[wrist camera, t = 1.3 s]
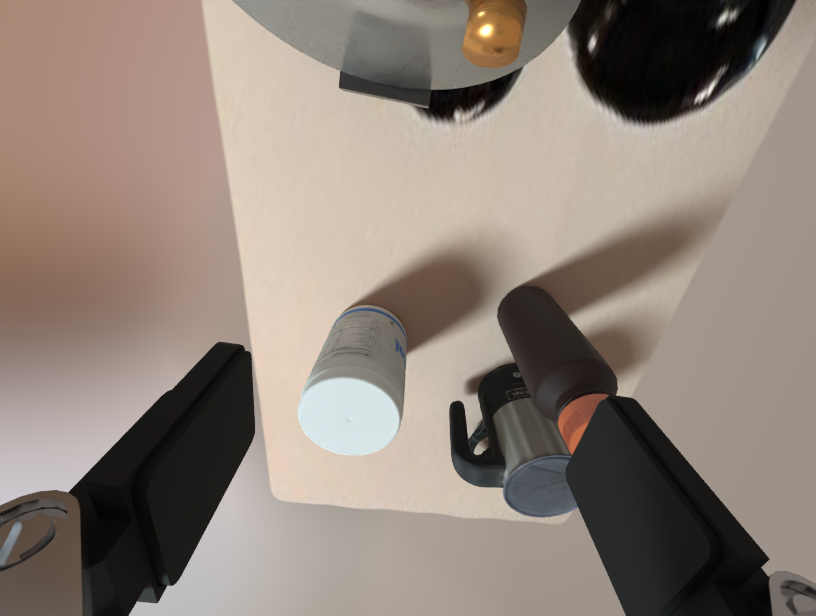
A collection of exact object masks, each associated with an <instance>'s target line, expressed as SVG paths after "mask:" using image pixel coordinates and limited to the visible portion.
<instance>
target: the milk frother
mask: <svg viewBox="0 0 816 616" xmlns="http://www.w3.org/2000/svg"><path fill="white" fill-rule="evenodd" d="M478 399H479V403H480V408H481V412H482V416H483V420H484V421H483V422H482V423H481V424H480V426H479V427H478V428H477V429H476V430H475V432H474V433H473V434H472V435H471V437H470V438H469V439H468V434H467V425H466V416H465V409H464V405H463V403H462V402H460V401H455V402H453V403H451V405H450V410H449V417H450V441H451V457H452V462H453V465H454V468H455V470H456V472H457V473H458V474H459V476H460V477H461V478H462V479H464V480H465V481H467V482H468V483H470V484H472V485H475V486H478V487H500V488H503V496H504V499H505V501H506V503H507V504H508V505H509V506H510V507H511V508H512V509H514V510H515V511H517V512H519V513H521V514H523V515H526V516H532V517H552V516H557V515H561V514H565V513H568V512H570V511H573V510H575V509H576V508H578V506H577V503H576V501H575V499H574V497H573V494H572V492H571V490H570V488H569V485H568V483H567V480H566V476H565V470H566V466H567V464H568V462H569V460H570V458H571V456H572V454H571V453H570V451H569V449H568V447H567V445H566V443H565V441H564V438H563V437H562V435H561V433H560V430H559V427H558V424H557V422H553V421H551V420H549V419H548V418H546V417H544V416H543V415H542V414H541V413H540V412H539V410H538V409H537V408H536V406H535V405H534V403H533V400H532V398H531V396H530V393H529V391H528V389H527V387H526V384H525V382H524V380H523V377H522V375H521V373H520V371H519V368H518V366H517V364H515V365H507V366H503V367H500V368H498V369H496V370H494V371H493V372H491V373H490V374H488V375H487V376H486V377H485V378H484V380H483V381H482V383H481V385H480V387H479V391H478ZM484 428H485V429H484ZM486 437H488V440H489V443H490V447H489V448H487V449H486V450H485V451H483V453H482V454H479V455H475V454H474V449H475V447H476V446H477V444H478V443H479V442H480V441H481V440H483V439H484V438H486Z"/></svg>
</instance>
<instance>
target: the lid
mask: <svg viewBox="0 0 816 616" xmlns="http://www.w3.org/2000/svg"><path fill="white" fill-rule="evenodd" d="M233 1H234V2H235V3H236V4H237V5H238V6H239V7H240V8H241V9H243V10H244V11H245V12H246V13H247V14H248V15H249V16H250V17H252V18H253V19H254V20H255V21H257V22H258V23H259V24H260V25H262V26H263V27H264V28H266V29H267V30H268V31H270V32H271V33H272V34H274V35H275V36H277V37H278V38H280V39H281V40H283V41H284V42H285V43H287V44H289V45H290V46H292V47H294V48H295V49H297V50H299V51H300V52H302V53H304V54H306V55H308V56H310V57H311V58H313V59H315V60H317V61H319V62H321V63H323V64H326V65H328V66H330V67H332V68H335V69H337V70H340V71H342V72H345V73H347V74H350V75H353V76H356V77H359V78H362V79H366V80H369V81H373V82H377V83H381V84H385V85H391V86H397V87H403V88H412V89H430V90H436V89H453V88H461V87H468V86H472V85H477V84H481V83H485V82H488V81H491V80H494V79H497V78H500V77H502V76H504V75H507V74H509V73H511V72H513V71H515V70H517V69H519V68H520V67H522V66H524V65H526V64H527V63H528V62H530V61H531V60H533V59H534V58H536V57H537V56H538V55H540V54H541V53H542V52H543V51H544V50H545V49H546V48H547V47H548V46H549V45H551V44H552V43H553V42H554V41H555V39H556V38H557V37H558V36H559V35H560V33H561V32H562V31H563V30H564V28H565V27H566V26H567V24H568V23H569V21H570V19H571V18H572V16H573V14H574V13H575V11H576V10H577V8H578V5H579V3H580V1H581V0H233Z"/></svg>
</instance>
